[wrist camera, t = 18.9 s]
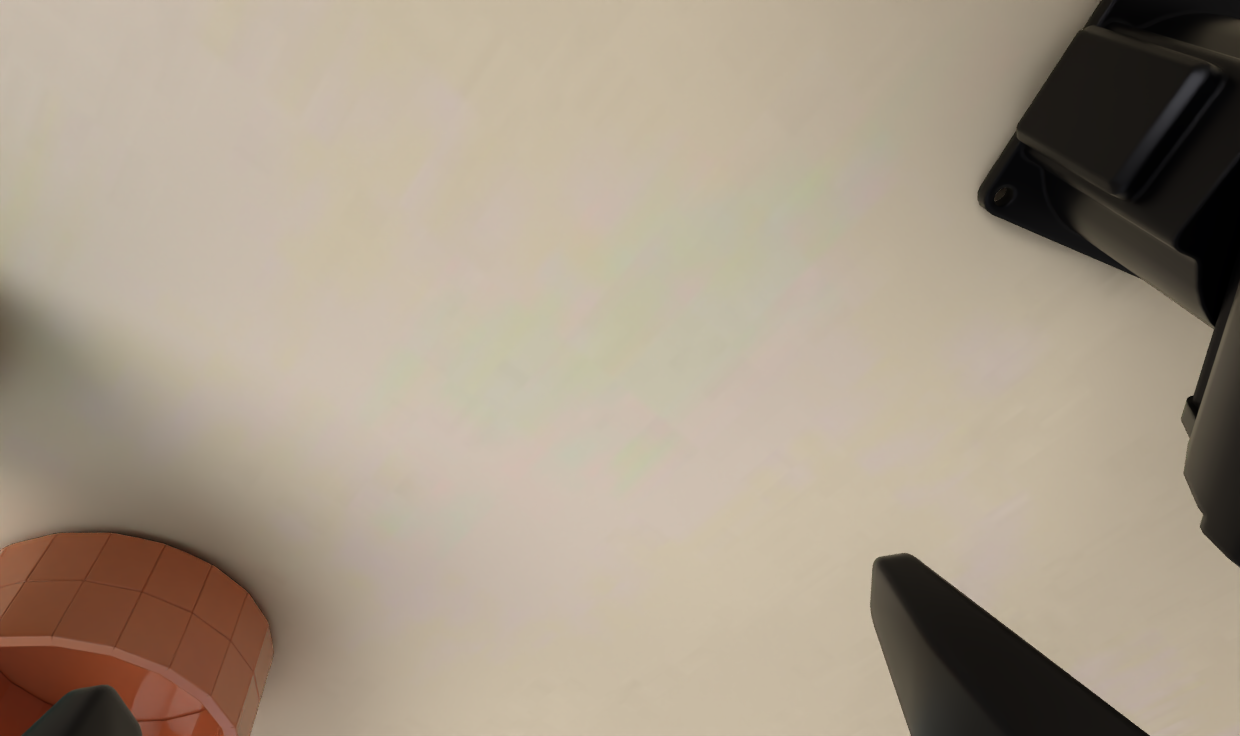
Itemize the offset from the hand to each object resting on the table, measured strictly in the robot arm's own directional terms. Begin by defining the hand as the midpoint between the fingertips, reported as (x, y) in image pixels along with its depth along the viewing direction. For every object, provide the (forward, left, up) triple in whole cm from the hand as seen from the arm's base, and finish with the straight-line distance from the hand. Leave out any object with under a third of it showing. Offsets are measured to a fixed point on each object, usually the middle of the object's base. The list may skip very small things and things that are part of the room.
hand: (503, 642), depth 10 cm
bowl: (+7, +18, -13) cm, 23 cm away
